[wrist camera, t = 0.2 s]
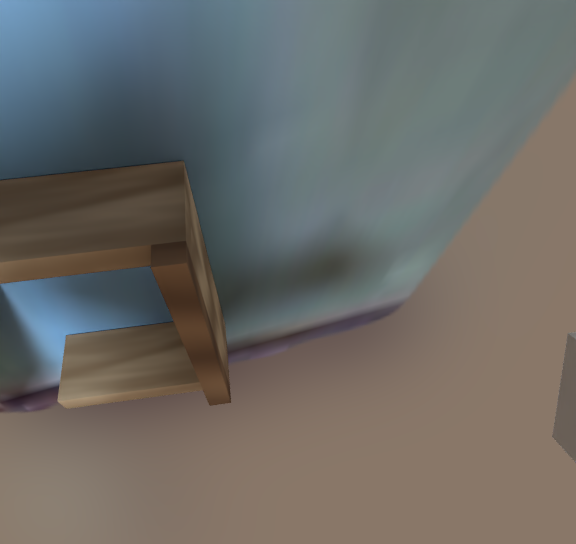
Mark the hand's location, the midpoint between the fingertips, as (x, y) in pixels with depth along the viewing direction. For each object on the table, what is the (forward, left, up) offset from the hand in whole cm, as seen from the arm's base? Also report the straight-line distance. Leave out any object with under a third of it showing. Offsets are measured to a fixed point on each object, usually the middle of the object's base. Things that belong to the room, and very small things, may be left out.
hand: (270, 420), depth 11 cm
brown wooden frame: (+15, -9, -15) cm, 23 cm away
